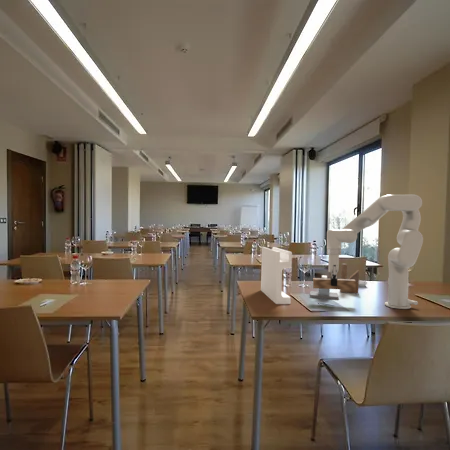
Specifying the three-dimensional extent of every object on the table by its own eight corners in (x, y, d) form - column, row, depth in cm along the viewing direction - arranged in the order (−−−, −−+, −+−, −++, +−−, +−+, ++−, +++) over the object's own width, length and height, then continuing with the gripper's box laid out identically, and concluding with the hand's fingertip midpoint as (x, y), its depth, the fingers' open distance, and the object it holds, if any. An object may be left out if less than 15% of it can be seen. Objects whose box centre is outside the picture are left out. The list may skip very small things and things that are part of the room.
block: (260, 290, 218) (261, 246, 218) (273, 290, 219) (274, 246, 219) (276, 304, 183) (277, 252, 183) (290, 303, 185) (292, 252, 184)
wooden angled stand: (358, 293, 216) (359, 264, 216) (340, 292, 218) (341, 264, 218) (357, 292, 220) (357, 264, 220) (339, 291, 222) (340, 263, 221)
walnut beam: (354, 288, 187) (354, 279, 187) (355, 290, 183) (355, 280, 183) (313, 286, 193) (313, 278, 193) (313, 288, 189) (313, 279, 189)
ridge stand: (337, 295, 209) (337, 275, 208) (338, 299, 197) (339, 278, 197) (310, 293, 213) (310, 274, 212) (309, 297, 201) (310, 277, 201)
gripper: (326, 250, 197) (326, 282, 197) (327, 253, 181) (327, 287, 181) (340, 250, 195) (339, 282, 195) (342, 253, 179) (342, 288, 179)
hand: (333, 284), depth 188 cm, fingers closed on walnut beam, 4 cm apart
